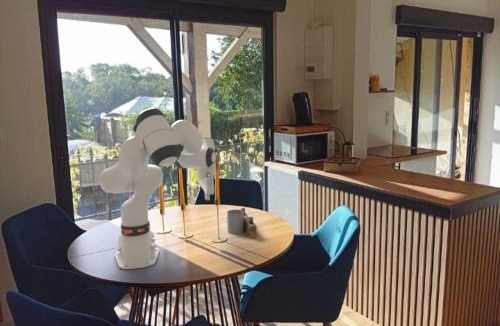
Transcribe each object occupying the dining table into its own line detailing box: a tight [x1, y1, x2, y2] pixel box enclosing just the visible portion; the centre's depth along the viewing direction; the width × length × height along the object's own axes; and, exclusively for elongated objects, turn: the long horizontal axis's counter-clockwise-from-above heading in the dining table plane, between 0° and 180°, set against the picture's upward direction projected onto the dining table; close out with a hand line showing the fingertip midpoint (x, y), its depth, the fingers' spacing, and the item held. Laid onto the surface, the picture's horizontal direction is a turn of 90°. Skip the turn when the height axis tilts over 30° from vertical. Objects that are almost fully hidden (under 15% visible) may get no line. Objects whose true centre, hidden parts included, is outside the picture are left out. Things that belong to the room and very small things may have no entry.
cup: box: [226, 208, 245, 235], centre depth 199 cm, size 8×8×10 cm
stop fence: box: [240, 207, 257, 239], centre depth 200 cm, size 24×3×9 cm, turn 15°
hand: (207, 199), depth 194 cm, fingers closed
